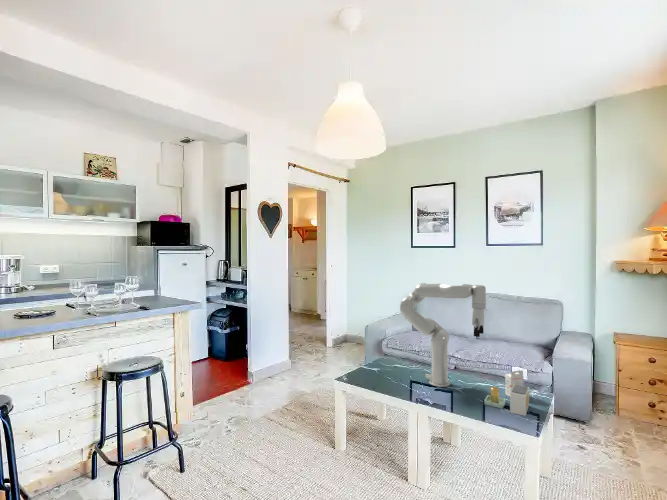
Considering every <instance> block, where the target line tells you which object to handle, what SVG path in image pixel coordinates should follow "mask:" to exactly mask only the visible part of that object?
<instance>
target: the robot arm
mask: <svg viewBox="0 0 667 500" xmlns="http://www.w3.org/2000/svg"><path fill="white" fill-rule="evenodd" d="M486 290H487V289H486V286H485V285H483V284H474V285H473V284H470V283H469V284H467V283H464V284H461V285H447V284H444V283H425V282H422V283H419V284H417V285H416V286H415V287H414V290H412V291H411V293H409V294H408V295H407V296H405V297H403V298H402V299H401V302H400V304H399V311H400V314H401V315H402V317H403V318H404V319H405V320H406V321H407V322H408V323H409V324H411V326H413V328H415V329H416V330H417V331H418V332H419V333H420V334H422V335H423V336H426V337H427V336H429V337H430V338H431V340H430V346H431V373H430V374H428V373H425V375H424V376H425V378H426V379H428V383H429V384H430V385H431V386H434V387H439V388H446V387H449V386H450V385H451V381H450V380H448V376H449V375H448V371H449V370H448V367H449V365H448V362H449V361H448V360H449V359H448V357H449V355H448V353H449V352H448V343H449V341H450V334H449V333H448V331H447V330H446V329H444V328H443V326H441V325H440V324H438V322H436V321H435V320H434V319H432V318H430V317H424V316H423V315H422V314H421V313H419V312H418V311H416V310H415V307H417V306H418V305H419V304H420V303H421V302H422V301H423V300H424V299H425V298H435V299H436V298H440V299H442V298H443V299H467V298H469V297H471V309H472V317H471V318H472V319H471V324H472V326H473V337H476V338H477V337H478V338H479V337H480V334H484V323H485V310H486V306H487V305H486V304H487V303H486V301H487V300H486V299H487V298H486V297H487V294H486V293H487V292H486Z"/></svg>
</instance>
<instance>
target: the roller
mask: <svg viewBox="0 0 667 500" xmlns="http://www.w3.org/2000/svg"><path fill="white" fill-rule="evenodd" d="M490 396H491V402H494V403H498V404H499V398H500V388H499V387H498V386H490Z"/></svg>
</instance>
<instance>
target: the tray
mask: <svg viewBox="0 0 667 500" xmlns="http://www.w3.org/2000/svg"><path fill="white" fill-rule="evenodd" d="M506 400H507V399H506V398H503V397H499V404H498V403H494V402H491V394H490V395H489V394H487V395H486V397H485V398H484V401H483V405H484V406H489V407H493V408H498V409H502V410H503V409H504V407H505V405H506V402H507V401H506Z"/></svg>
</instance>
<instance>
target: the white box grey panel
mask: <svg viewBox="0 0 667 500" xmlns="http://www.w3.org/2000/svg"><path fill="white" fill-rule="evenodd" d="M509 400H510V401H509V409H510V410H509V413H510V414H511V413H512V414H516V415H520V416H523V417H526V415H527V413H528V409H529V406H530V403H529V402H530V387H529V386H525V385H523V386H521V385H516V384H514V386H513V388H512V390H511V392H510V399H509Z"/></svg>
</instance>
